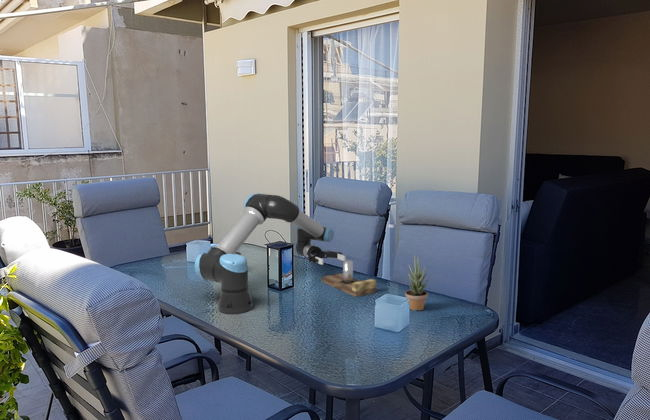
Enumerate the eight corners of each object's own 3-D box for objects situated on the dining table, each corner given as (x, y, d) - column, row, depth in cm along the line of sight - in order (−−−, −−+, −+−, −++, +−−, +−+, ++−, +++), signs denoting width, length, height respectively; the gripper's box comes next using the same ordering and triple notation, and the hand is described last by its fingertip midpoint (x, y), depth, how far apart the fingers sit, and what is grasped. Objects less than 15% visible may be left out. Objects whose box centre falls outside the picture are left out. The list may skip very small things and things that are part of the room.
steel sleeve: (346, 288, 255) (346, 263, 253) (341, 286, 259) (340, 261, 257) (355, 287, 257) (354, 261, 255) (349, 284, 262) (349, 259, 260)
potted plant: (413, 303, 232) (414, 249, 228) (431, 308, 225) (432, 253, 222) (400, 309, 225) (400, 253, 221) (418, 314, 219) (419, 257, 215)
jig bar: (355, 296, 242) (355, 284, 242) (321, 281, 268) (321, 270, 267) (376, 292, 249) (376, 280, 248) (341, 277, 274) (341, 266, 273)
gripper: (332, 256, 290) (353, 264, 272) (292, 262, 277) (312, 270, 259) (332, 243, 289) (353, 250, 271) (292, 248, 276) (312, 256, 258)
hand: (333, 260), depth 265 cm, fingers open, 13 cm apart
